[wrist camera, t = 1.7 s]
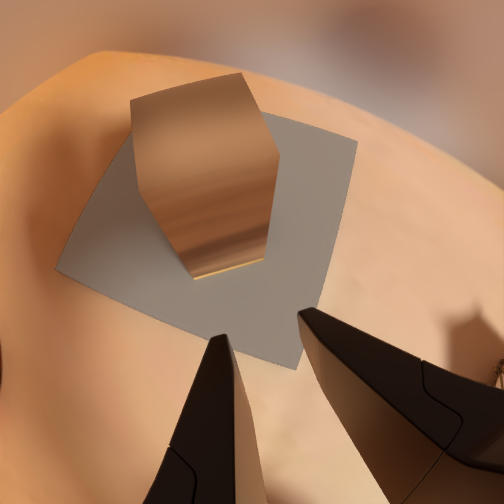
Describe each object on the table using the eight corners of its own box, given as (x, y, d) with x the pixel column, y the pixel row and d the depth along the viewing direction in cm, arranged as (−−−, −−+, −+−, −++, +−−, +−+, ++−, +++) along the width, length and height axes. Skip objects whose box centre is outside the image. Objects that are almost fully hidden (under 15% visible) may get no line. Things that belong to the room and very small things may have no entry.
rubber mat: (294, 369, 20) (296, 370, 19) (59, 272, 22) (54, 269, 21) (355, 146, 26) (357, 141, 26) (162, 97, 28) (161, 91, 27)
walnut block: (263, 260, 22) (280, 154, 10) (194, 280, 21) (139, 191, 10) (243, 199, 23) (241, 72, 12) (179, 217, 23) (129, 100, 11)
